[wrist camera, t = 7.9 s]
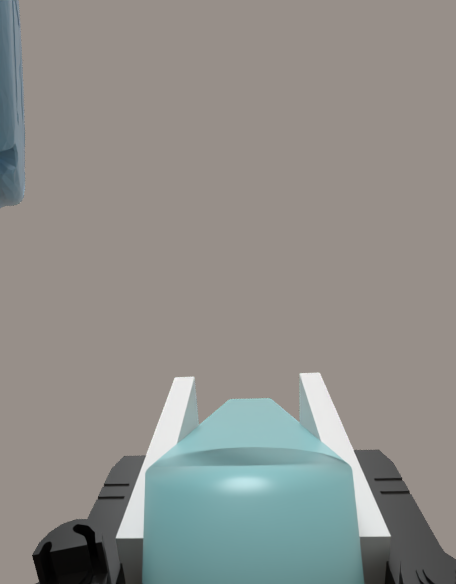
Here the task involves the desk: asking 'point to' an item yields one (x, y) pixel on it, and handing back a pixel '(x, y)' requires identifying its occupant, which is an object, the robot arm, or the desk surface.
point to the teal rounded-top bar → (250, 504)
